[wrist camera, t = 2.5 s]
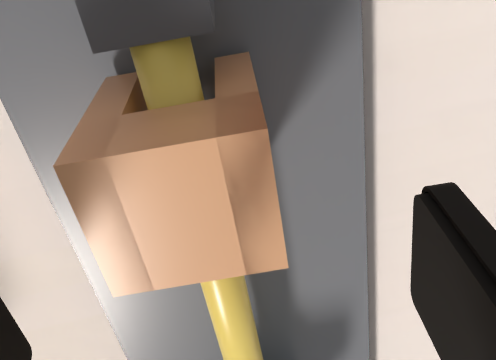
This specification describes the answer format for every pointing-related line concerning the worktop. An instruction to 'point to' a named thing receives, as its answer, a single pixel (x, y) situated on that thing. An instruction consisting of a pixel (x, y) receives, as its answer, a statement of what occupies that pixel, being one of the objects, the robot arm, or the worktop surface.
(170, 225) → the sleeve
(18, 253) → the worktop surface
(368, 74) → the worktop surface
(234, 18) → the cable board
